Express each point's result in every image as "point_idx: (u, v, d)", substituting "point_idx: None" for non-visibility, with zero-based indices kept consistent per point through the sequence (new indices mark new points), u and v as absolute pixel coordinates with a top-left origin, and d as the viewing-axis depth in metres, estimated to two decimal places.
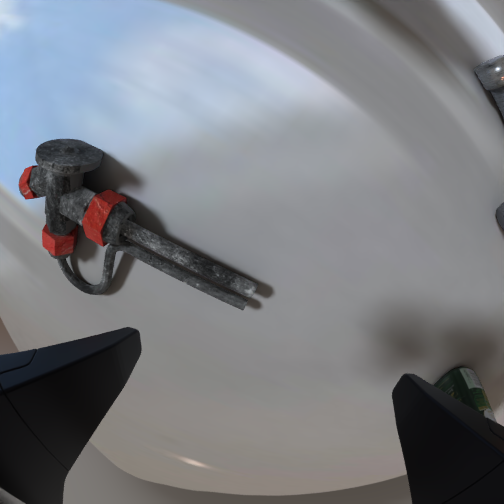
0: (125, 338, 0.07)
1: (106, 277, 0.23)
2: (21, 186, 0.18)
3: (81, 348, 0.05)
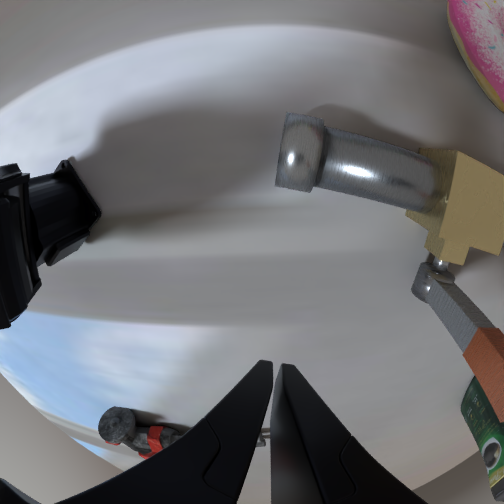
0: (272, 374, 0.07)
1: None
2: (108, 442, 0.29)
3: (250, 400, 0.05)
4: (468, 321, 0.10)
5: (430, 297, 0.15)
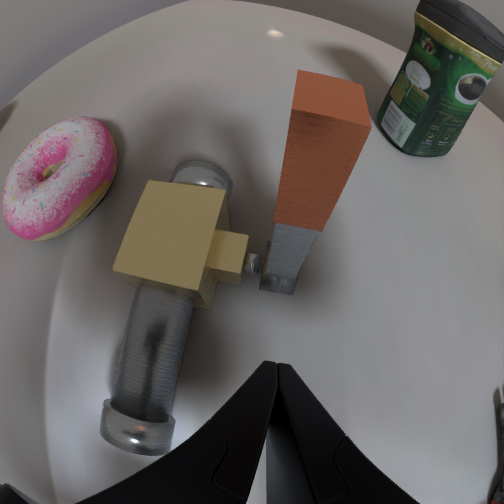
0: (277, 375, 0.07)
1: None
2: None
3: (256, 401, 0.05)
4: (277, 235, 0.11)
5: (287, 276, 0.15)
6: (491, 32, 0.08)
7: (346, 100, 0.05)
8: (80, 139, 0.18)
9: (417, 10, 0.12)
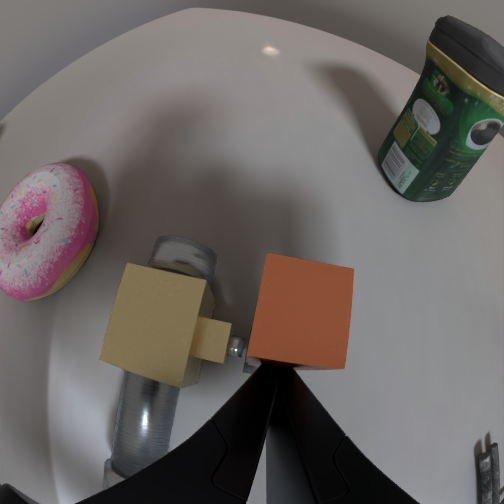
0: (277, 375, 0.07)
1: None
2: None
3: (256, 401, 0.05)
4: None
5: None
6: None
7: (323, 319, 0.05)
8: (58, 197, 0.17)
9: (430, 40, 0.12)
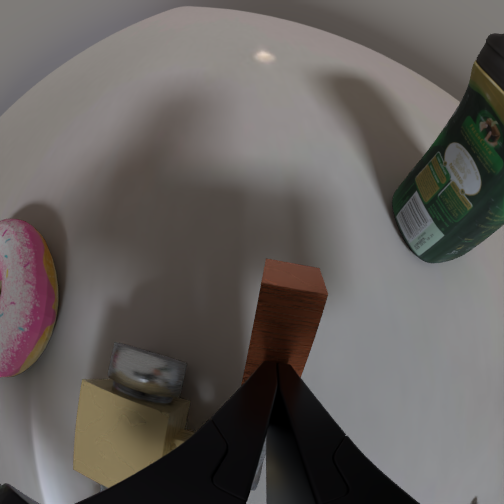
0: (277, 375, 0.07)
1: None
2: None
3: (255, 401, 0.05)
4: None
5: None
6: None
7: (306, 278, 0.08)
8: (10, 274, 0.13)
9: (481, 64, 0.07)
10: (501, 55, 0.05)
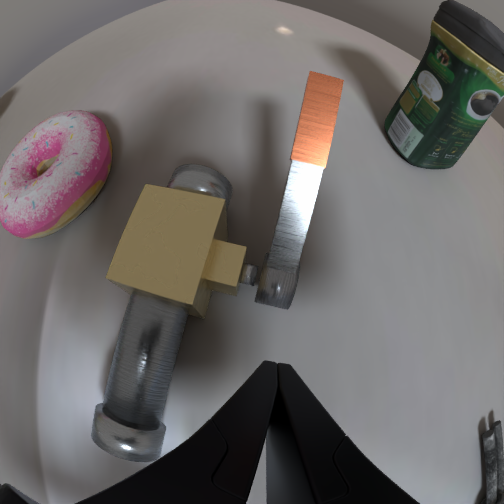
0: (277, 375, 0.07)
1: None
2: None
3: (256, 401, 0.05)
4: (291, 178, 0.13)
5: (290, 263, 0.15)
6: None
7: None
8: (75, 136, 0.17)
9: (434, 19, 0.11)
10: (445, 11, 0.10)
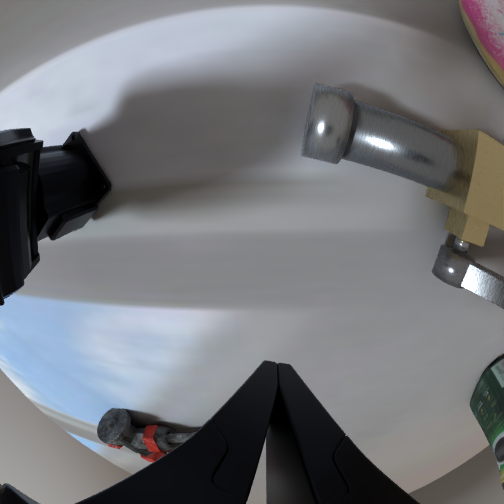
0: (277, 375, 0.07)
1: None
2: (111, 446, 0.29)
3: (256, 401, 0.05)
4: None
5: (469, 282, 0.14)
6: None
7: None
8: None
9: None
10: None
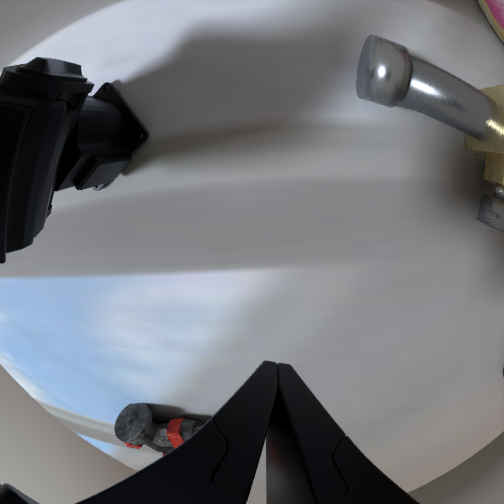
0: (277, 375, 0.07)
1: None
2: (129, 446, 0.28)
3: (256, 401, 0.05)
4: None
5: None
6: None
7: None
8: None
9: None
10: None
